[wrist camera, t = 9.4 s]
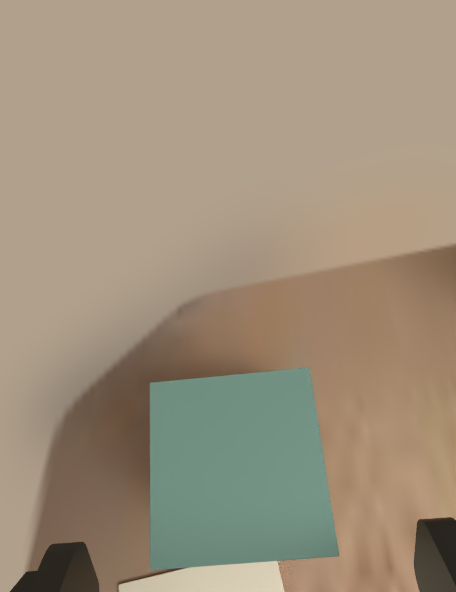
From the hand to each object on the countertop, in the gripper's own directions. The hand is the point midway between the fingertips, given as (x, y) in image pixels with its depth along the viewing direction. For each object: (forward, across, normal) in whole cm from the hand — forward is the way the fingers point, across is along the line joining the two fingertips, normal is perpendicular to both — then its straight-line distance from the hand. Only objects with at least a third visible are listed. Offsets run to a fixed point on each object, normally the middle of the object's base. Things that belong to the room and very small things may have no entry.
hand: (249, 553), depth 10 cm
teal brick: (+8, 0, +5) cm, 10 cm away
